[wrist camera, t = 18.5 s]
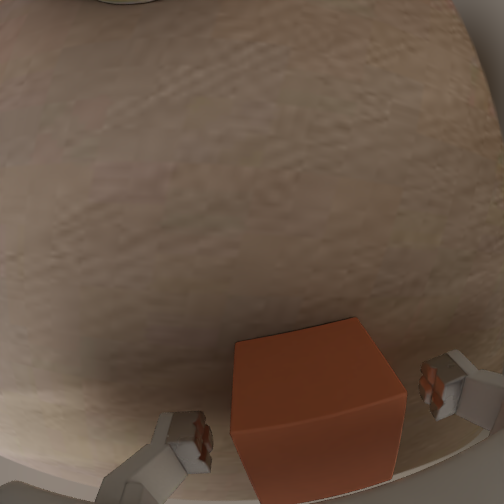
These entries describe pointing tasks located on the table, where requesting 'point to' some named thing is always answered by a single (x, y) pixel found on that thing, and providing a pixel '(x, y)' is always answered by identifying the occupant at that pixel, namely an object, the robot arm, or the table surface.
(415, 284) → the table surface
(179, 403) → the table surface
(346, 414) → the block
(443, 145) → the table surface
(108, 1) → the coffee cup
